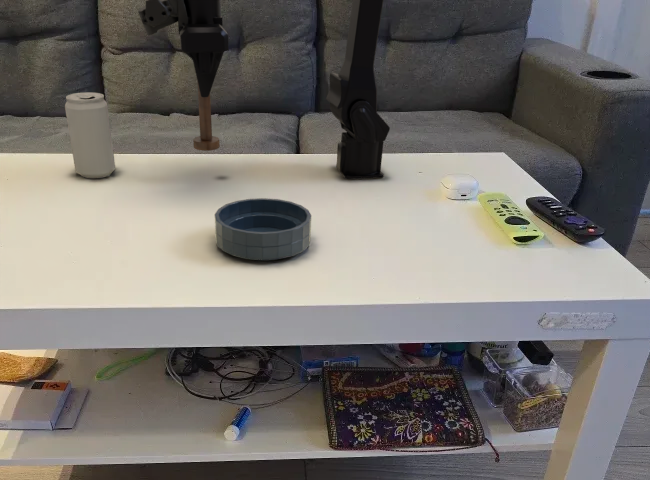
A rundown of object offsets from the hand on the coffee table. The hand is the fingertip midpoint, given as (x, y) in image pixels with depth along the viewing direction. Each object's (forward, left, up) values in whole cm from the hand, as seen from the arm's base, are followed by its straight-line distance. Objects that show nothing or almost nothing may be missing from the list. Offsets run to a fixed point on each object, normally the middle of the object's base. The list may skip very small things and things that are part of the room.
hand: (204, 95), depth 99 cm
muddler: (0, 0, -8) cm, 8 cm away
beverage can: (+18, -6, -13) cm, 23 cm away
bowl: (-5, +26, -13) cm, 29 cm away
